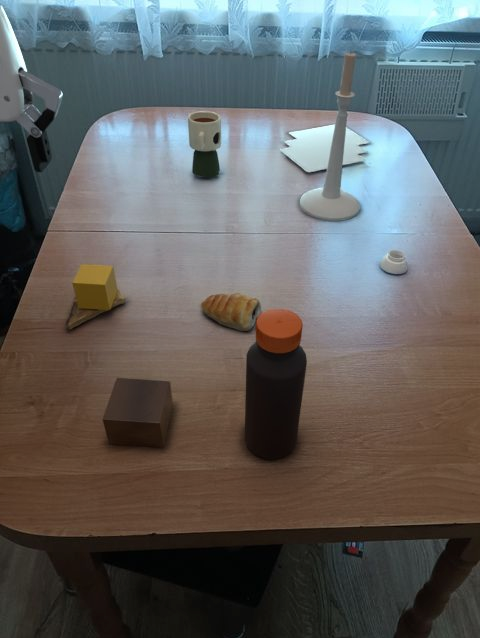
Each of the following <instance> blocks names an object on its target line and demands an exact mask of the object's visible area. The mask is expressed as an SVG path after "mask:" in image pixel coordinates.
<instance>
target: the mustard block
mask: <svg viewBox="0 0 480 638" xmlns="http://www.w3.org/2000/svg"><path fill="white" fill-rule="evenodd" d="M71 283H72V288H73V291H74V295H75V297H76V300H77V304H78V308H83V309H98V310H107V311H110V310H112V308H111V306H112V304H113V301H114V299H115V297H116V294H117V292H118V290H119V289H118V284H117V280H116V274H115V269H114V265H105V264H104V265H103V264H88V263H81V264H80V267H79V268H78V271H77V273H76V275H75V276H74V279H73V280H72V282H71Z"/></svg>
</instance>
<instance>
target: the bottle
mask: <svg viewBox="0 0 480 638" xmlns="http://www.w3.org/2000/svg"><path fill="white" fill-rule="evenodd" d="M303 326H304V325H303V321H302V318H301V317H300V316H299V315H298V314H297V313H295V312H293V311H291V310H289V309H286V308H281V307H280V308H277V307H276V308H271V309H270V308H269V309H267V310H264V311H263V312H261V313H260V315H259V316H258V317H257V318H256V321H255V342H254V343H252V345H251V346H250V347H249V348H248V350H247V352H246V357H245V358H246V359H245V361H246V362H245V401H244V403H245V404H244V405H245V406H244V442H245V445H246V447H247V449H248V450H249V451H250V452H251V453H252V454H253V455H255V456H257V457H258V458H262V459H266V460H278V459H281V458H284V457H286V456H287V455H289V454H291V452H292V451H293V449H294V448H296V443H297V440H298V432H299V425H300V419H301V417H300V416H301V410H302V403H303V396H304V387H305V381H306V371H307V366H308V365H307V364H308V360H307V353H306V352H305V350H304V348H303V346H301V342H302V333H303Z"/></svg>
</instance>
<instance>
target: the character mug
mask: <svg viewBox="0 0 480 638" xmlns="http://www.w3.org/2000/svg"><path fill="white" fill-rule="evenodd" d="M187 129H188V144H189V145H188V146H189V147H190V148H191V149H192V150H194V151H193V156H192V169H191V173H192V174H193V176H194V175H195V176H197V177H201V178H205V179H206V178H207V179H212V178H216V177H217V176H219V175H220V172H221V168H220V162H219V154H218V151H217V150H218V149H220V148H221V146H222V117H221V115H220V114H218V113H216V112H214V111H209V110H200V111H193V112H191V113H189V114H188V115H187Z"/></svg>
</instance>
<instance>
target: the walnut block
mask: <svg viewBox="0 0 480 638" xmlns="http://www.w3.org/2000/svg"><path fill="white" fill-rule="evenodd" d="M173 407H174V401H173V394H172V386H171V381H170V380H157V379H142V378H141V379H140V378H126V377H116V379H115V382H114V385H113V388H112V391H111V393H110V396H109V399H108V402H107V405H106V408H105V411H104V414H103V417H102V423H103V427H104V431H105V435H106V438H107V442H108V445H117V446H129V447H130V446H131V447H145V448H146V447H148V448H160V449H161V448H165V443H166V439H167V434H168V430H169V425H170V421H171V416H172V413H173Z"/></svg>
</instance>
